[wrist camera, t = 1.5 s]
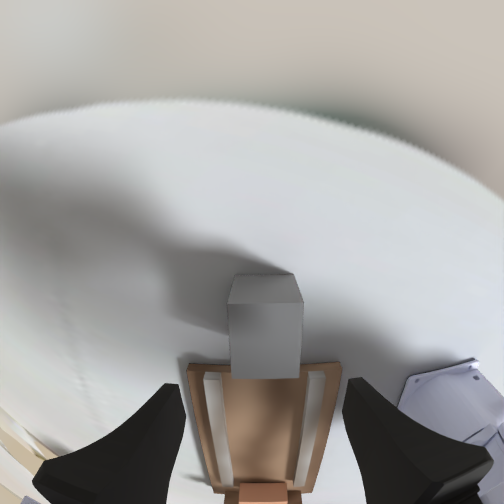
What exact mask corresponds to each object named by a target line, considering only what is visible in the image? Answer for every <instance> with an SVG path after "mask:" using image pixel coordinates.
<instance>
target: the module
mask: <svg viewBox="0 0 504 504" xmlns="http://www.w3.org/2000/svg"><path fill="white" fill-rule="evenodd" d="M303 311H304V302H303V299H302V296H301V293H300V290H299V287H298V285H297V282H296V279H295V276H294V274H271V275H235V276H234V280H233V284H232V287H231V291H230V294H229V298H228V302H227V314H228V330H229V346H230V361H231V375H232V379H285V378H299V371H300V358H301V344H302V329H303Z"/></svg>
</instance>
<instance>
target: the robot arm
mask: <svg viewBox="0 0 504 504" xmlns="http://www.w3.org/2000/svg"><path fill="white" fill-rule="evenodd" d="M478 366H479V361H478V360H474V361H470V362H467V363H463V364H460V365H456V366H452V367H449V368H445V369H440V370H436V371H432V372H428V373H423V374H418V375H413V376H410V377H409V378H408V379H407V382H406V385H405V388H404V391H403V393H402V396H401V399H400V402H399V405H398V407H397V408H396V407H395V406H394V405H392V404H391V403H390V402H389V401H388V400H386V399H385V398H384V397H383V396H382V395H381V394H380V393H379V392H377V391H376V390H375V389H374V388H373V387H372V386H371V385H370V384H369V383H368V382H367V381H366V380H364V379H363V378H362V377H359V378H352V379H349V380H348V385H347V390H346V395H345V400H344V404H343V409H342V414H343V419H344V424H345V428H346V432H347V435H348V438H349V441H350V443H351V446H352V449H353V452H354V454H355V457H356V460H357V463H358V466H359V469H360V472H361V476H362V480H363V485H364V490H365V496H366V502H367V504H504V397H503V396H502V395H501V394H500V393H499V392H498V390H497V389H496V388H495V387H494V386H493V385H492V384H491V383H490V382H489V381H488V380H487V379H486V378H485V377H484V376H483V375H482V373H481V372H480V371H479V370H478V369H477V368H478ZM416 379H417V380H416ZM415 380H416V381H415ZM185 421H186V413H185V410H184V406H183V402H182V398H181V393H180V389H179V385H178V384H168V383H165V384H164V385H163V386H162V387H161V388H160V389H159V390H158V391H157V392H156V393H155V394H154V395H153V396H152V397H151V398H150V399H149V400H148V401H147V402H146V403H145V404H144V405H143V406H142V407H141V408H140V409H139V410H138V411H137V412H136V413H135V414H133V415H132V416H131V417H130V418H129V419H128V420H126V421H125V422H124V423H123V424H122V425H120V426H119V427H118V428H116V429H115V430H114V431H112V432H111V433H109V434H108V435H106V436H105V437H103V438H101V439H99V440H98V441H96V442H94V443H92V444H90V445H88V446H86V447H84V448H82V449H80V450H77V451H75V452H72V453H70V454H67V455H64V456H60V457H57V458H53V459H49V460H45V461H44V462H43V463H42V465H41V467H40V468H39V470H38V472H37V474H36V475H35V477H34V478H33V480H32V483H33V485H34V487H35V488H36V489H37V491H38V492H39V493H40V494H41V495H42V496H44V497H45V498H46V499H47V500H48V501H49V502H50V503H51V504H166V500H167V494H168V487H169V481H170V477H171V473H172V470H173V467H174V464H175V460H176V457H177V454H178V451H179V447H180V444H181V441H182V437H183V433H184V427H185ZM21 504H40V503H39V502H37V501H35V500H33V499H32V498H30V497H28V496H25V497H24V498H23V500H22V502H21Z"/></svg>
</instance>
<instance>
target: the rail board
mask: <svg viewBox="0 0 504 504" xmlns="http://www.w3.org/2000/svg"><path fill="white" fill-rule="evenodd" d="M341 373H342V367H341V365H340V362H332V363H318V364H300V371H299V378H285V379H232V375H231V365H208V364H190V363H189V365H188V368H187V376H188V382H189V387H190V393H191V398H192V403H193V408H194V413H195V418H196V423H197V427H198V432H199V436H200V441H201V445H202V449H203V453H204V457H205V461H206V465H207V469H208V473H209V477H210V481H211V484H212V488H213V491H214V493H217V494H225V500H224V504H239V490H240V483H287V497H288V503H287V504H302V498H301V494H302V493H312V491H313V488H314V485H315V482H316V478H317V475H318V472H319V468H320V465H321V461H322V458H323V454H324V450H325V447H326V443H327V439H328V435H329V431H330V426H331V422H332V418H333V413H334V409H335V404H336V399H337V394H338V389H339V384H340V379H341Z"/></svg>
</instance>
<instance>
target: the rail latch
mask: <svg viewBox="0 0 504 504" xmlns="http://www.w3.org/2000/svg"><path fill="white" fill-rule="evenodd" d="M287 503H288V497H287V483H240V490H239V504H287Z"/></svg>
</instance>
